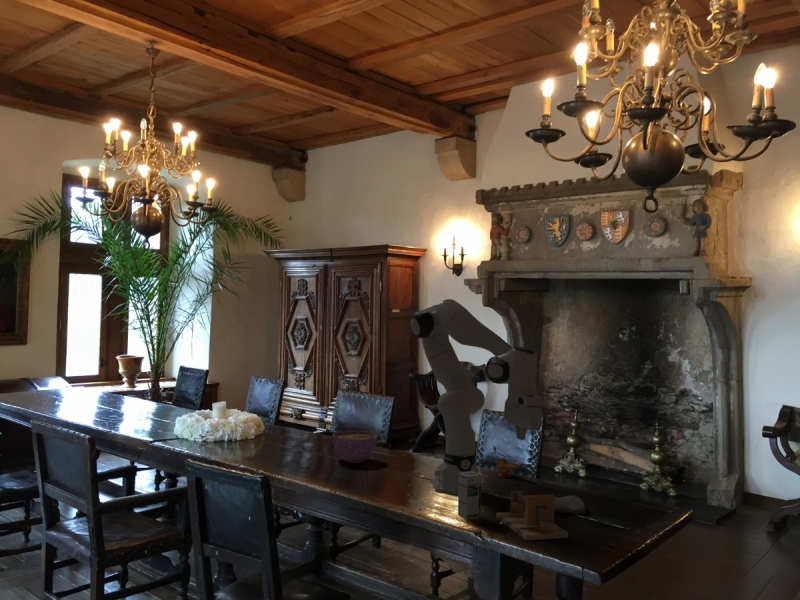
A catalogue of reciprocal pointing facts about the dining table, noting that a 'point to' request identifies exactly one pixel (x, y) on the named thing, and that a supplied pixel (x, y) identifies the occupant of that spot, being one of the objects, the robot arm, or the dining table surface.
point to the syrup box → (469, 495)
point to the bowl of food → (354, 445)
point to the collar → (531, 504)
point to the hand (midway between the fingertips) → (520, 439)
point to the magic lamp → (505, 466)
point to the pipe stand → (543, 531)
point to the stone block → (569, 505)
